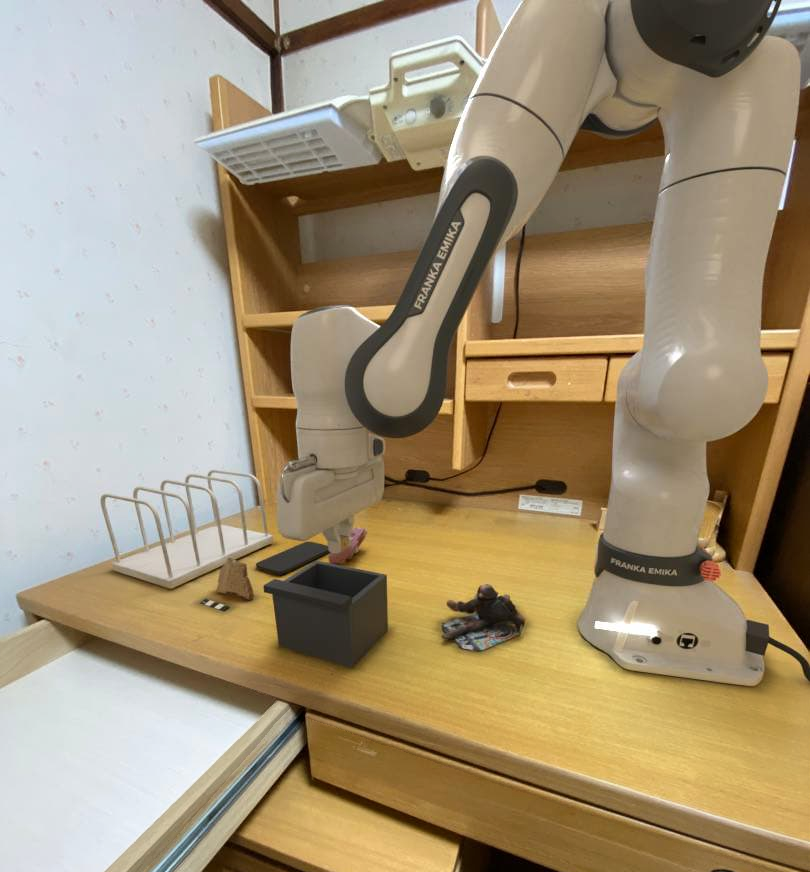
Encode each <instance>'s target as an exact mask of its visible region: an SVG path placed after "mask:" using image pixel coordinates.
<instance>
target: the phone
mask: <svg viewBox="0 0 810 872" xmlns="http://www.w3.org/2000/svg"><path fill="white" fill-rule="evenodd" d="M327 554H330V552H329V550H328V544H323V543H318V542H315V541H303V542H301V543H299V544H296V545H295V546H292V547H290V548H288V549H286V550H283V551H281V552H278V553H276V554H274V555H271V556H269V557H267V558H265V559H262V560H259V561H258V562H256V563H255V568H256V569H257V570H261V571H263V572H268V573H271V574H273V575H278V576H281V575H285V574H287V573H289V572H291V571H293V570H296V569H297V568H300V567H302V566H304V565H306V564H308V563H310V562H312V561H314V560H317V559H318V558H320V557H323V556H324V555H327Z"/></svg>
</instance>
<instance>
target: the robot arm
mask: <svg viewBox="0 0 810 872" xmlns="http://www.w3.org/2000/svg"><path fill="white" fill-rule="evenodd" d="M782 1H783V0H522V1H521V2H520V3H519V4H518V6H517V8H516V10H515V11H514V13H513V15H512V16H511V17H510V19H509V21H508V22H507V23H506V25H505V27H504V29H503V31H502V32H501V34H500V36H499V38H498V40H497V41H496V43H495V45H494V47H493V48H492V51H491V52H490V54H489V56H488V58H487V60H486V61H485V64H484V65H483V68H482V70H481V72H480V74H479V76H478V78H477V80H476V82H475V84H474V87H473V89H472V90H471V94H470V95H469V98H468V100H467V103H466V105H465V107H464V110H463V113H462V115H461V118H460V120H459V123H458V126H457V127H456V130H455V134H454V137H453V140H452V143H451V146H450V149H449V152H448V156H447V159H446V163H445V166H444V170H443V175H442V179H441V184H440V189H439V195H438V196H439V197H438V201H437V205H436V211H435V215H434V218H433V221H432V224H431V226H430V229H429V231H428V234H427V235H426V238H425V241H424V243H423V245H422V247H421V250H420V252H419V254H418V256H417V258H416V260H415V263H414V265H413V267H412V269H411V271H410V273H409V276H408V279H407V280H406V282H405V285H404V287H403V289H402V291H401V293H400V296H399V298H398V299H397V302H396V304H395V306H394V307H393V310H392V312H391V313H390V315H388V317H387V319H386V320H384V322H383V323H382V324H381V325H380V324H377V323H376V322H374V321H372V320H371V319H370V318H368V317H366V316H365V315H364V314H362V313H361V312H359V310H357V309H356V308H355V307H354V306H350V305H344V304H337V305H326V306H322V307H317V308H314V309H311V310H308V311H306V312H304V313H302V314H300V315H299V316H298V317H297V319H296V320H295V321H294V322H293V325H292V329H291V336H290V373H291V385H292V387H291V388H292V392H293V395H294V399H295V401H296V405H297V411H296V413H297V414H296V419H295V432H296V441H297V455H298V459H292V460H289V461H288V462H286V464H285V467H284V468H283V469H282V472H281V473H280V474H279V478H278V484H277V491H276V523H277V530H278V533H279V534H280V535H281V536H282V538H284V539H287V540H291V541H297V542H307V541H308V540H310V539H312V538H314V537H316V536H318V535H319V534H321V533H322V535H323V536H324V539H325V540H326V541H327V542H326V543H327V546H328V550H329V553H330V554H331V553H336V554H338V553H339V552H341V551H342V550H344V549H345V548H347V547H349V546H350V534H351V531H352V529H354V528H353V527H354V524H355V515H357V514H359V513H360V512H363V511H365V510H366V509H368V508H370V507H372V506H374V505H376V504H378V503H380V502H381V501H382V498H383V496H384V493H385V461H384V458H383V455H384V454H385V453H386V449H387V448H386V440H385V439H384V438H387V439H405V438H408V437H412V436H415V435H417V434H419V433H420V432H422V431H424V430H425V429H426V428H428V427H429V426H430V425H431V424H432V423H433V422H434V420H436V418H437V416H438V414H439V413H440V411H441V409H442V407H443V404H444V401H445V397H446V390H447V375H448V374H447V372H448V359H449V353H450V350H451V347H452V344H453V341H454V339H455V336H456V334H457V332H458V329H459V327H460V325H461V323H462V320H463V319H464V316H465V315H466V312H467V310H468V308H469V306H470V304H471V302H472V300H473V297H474V296H475V293H476V291H477V290H478V287H479V285H480V284H481V281H482V279H483V277H484V275H485V272H486V271H487V269H488V267H489V266H490V264H491V262H492V260H493V259H494V258H495V256H496V255H497V254H498V252H499V251H500V250H501V249H502V247H503V246H504V245H505V244H506V243H507V242H508V241H509V240H510V239H511V238H513V237H515V236H516V235H517V234H518V233H519V232H521V230H522V229H523V227H524V226H525V225H526V223H527V222H528V221H529V219H531V217H532V216H533V214H534V212H535V211H536V210H537V208H538V206H539V205H540V203H541V202H542V200H543V199H544V197H545V195H546V194H547V192H548V191H549V188H550V187H551V185H552V184H553V182H554V180H555V178H556V176H557V174H558V173H559V170H560V168H561V166H562V164H563V162H564V160H565V159H566V156H567V154H568V152H569V150H570V148H571V145H572V143H573V141H574V139H575V137H576V136H577V134H578V132H579V131H584V132H585V131H586V132H590V133H591V134H594V135H596V136H597V137H600V138H603V139H607V140H622V139H628V138H631V137H632V136H636V135H638V134H639V133H641V132H643V131H644V130H646V129H648V128H650V127H651V126H652V125H654V123H656V122H657V121H658V120H659V122H660V126H661V130H662V134H663V139H664V157H665V160H664V164H663V168H662V172H661V178H660V183H659V187H658V194H657V198H656V199H657V200H656V205H655V211H654V216H653V217H654V218H653V224H652V230H651V235H650V241H649V246H648V252H647V259H646V265H645V272H644V278H643V284H644V293H645V294H644V297H645V298H644V299H645V301H644V304H645V305H644V327H643V342H642V348H641V349H640V350H638V351H637V352H635V353H634V355H632V356H631V357H630V359H629V360H628V361H627V362H626V363H625V365H624V366H623V368H622V370H621V371H620V374H619V376H618V378H617V383H616V395H615V405H614V406H615V407H614V415H613V416H614V419H613V430H612V431H613V433H612V453H611V454H612V458H611V460H612V461H611V477H610V485H609V486H610V487H609V493H608V501H607V506H606V513H605V519H604V527H603V532H602V533H600V534H599V538H598V542H597V543H596V550H595V555H594V563H593V569H594V570H593V573H594V578H593V581H592V585H591V588H590V592H589V595H588V598H587V600H586V602H585V605H584V607H583V609H582V611H581V614H579V616H578V619H577V623H576V625H577V629H578V631H579V633H580V634H581V636H582V637H583V638H584V639H585V640H586V641H587V642H589V643H590V644H591V645H593V646H594V647H596V648H598V649H599V650H601V651H603V652H604V653H606V654H607V655H609V656H610V657H611V658H612V660H614V661H615V663H616V664H618V665H619V666H620V667H621V668H623V669H625V670H629V671H635V672H642V673H650V674H655V675H656V674H657V675H664V676H670V677H671V676H672V677H678V678H679V677H680V678H685V679H686V678H687V679H692V680H693V679H694V680H701V681H708V682H715V683H723V684H731V685H737V686H738V685H739V686H747V687H756V686H758V684H760V683H761V681H762V680H763V678H764V673H765V661H764V656H766V651H767V648H768V646H769V645H772V646H773V647H775V648H776V649H779V650H781V651H783V652H785V653H786V654H788V655H790V656H791V657H792V658H794V659H795V660H796V661H797V662H798V663H799V664H800V666H801V669H802V672H803V675H804V677H805V679H806V680H807V681H808V682H810V663H809V661H808V660H807V658H805V657H804V656H803V655H802V654H801V653H799V652H798V651H797V650H795V649H793V648H792V647H790V646H788V645H787V644H784V643H782V642H780V641H778V640H776V639H774V638H773V637H771V636H770V625H769V624H767V623H763V622H760V621H756V620H751V619H747V618H746V616H745V614H744V612H743V609H742V607H741V606H740V605H739V603H738V602H737V601H736V600H735V599H734V598H733V597H732V596H731V595H729V594H728V592H726V591H725V590H724V589H723V588H722V587H720V586H719V585H718V584H716V581H717V579H720V576H722V574H721V573H722V571H721V569H720V566H719V564H718V563H717V562H715V561H714V559H713V557H712V555H711V554H710V553H709V552H708V551H707V550H706V548H705V547H704V546H701V547H700V546H699V545H698V542H699V538H700V533H701V530H702V524H703V519H704V517H705V513H706V508H707V504H708V499H709V497H710V496H709V495H710V481H709V477H708V472H707V471H708V469H707V443H708V442H713V441H718V440H721V439H724V438H727V437H729V436H732V435H733V434H735V433H737V432H738V431H740V430H742V429H743V428H744V427H745V426H747V425H748V424H749V423H750V421H752V420H753V419H754V418H755V416H756V415H757V414H758V413H759V411H760V409H761V408H762V406H763V404H764V402H765V399H766V397H767V395H768V394H767V393H768V389H769V373H768V370H767V367H766V363H765V362H764V358H763V357H762V351H761V335H762V334H761V333H762V305H763V304H762V302H763V284H764V276H765V269H766V263H767V258H768V254H769V250H770V245H771V241H772V236H773V232H774V228H775V224H776V221H777V216H778V211H779V208H780V204H781V199H782V195H783V190H784V186H785V183H786V179H787V176H788V175H787V174H788V171H789V165H790V162H791V157H792V152H793V146H794V141H795V136H796V135H795V134H796V129H797V123H798V113H799V105H800V93H801V77H802V76H801V73H802V64H801V63H802V62H801V57H800V53H799V51H798V49H797V47H796V46H795V45H794V44H793V43H791V41H789V40H787V39H786V38H783V37H781V36H775V35H767V33H768V32H769V30H770V29H771V26H772V25H773V23H774V21H775V19H776V16H777V14H778V11H779V9H780V7H781V4H782ZM773 2H774V6H773V9H772V11H771V14H770V16H768V13H769V11H770V8H771V6H772V5H773ZM368 431H369V432H368ZM370 432H372V433H373V434H372V433H370ZM714 581H715V582H714Z"/></svg>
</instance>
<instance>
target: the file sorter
mask: <svg viewBox="0 0 810 872" xmlns="http://www.w3.org/2000/svg"><path fill="white" fill-rule="evenodd" d="M215 473H216V474H222V475H231V476H237V477H245V478H250V479H252V480H253V481H254V482H255V484H256V487H257V492H258V497H259V504H260V512H261V519H262V525H263V531H264V532H260V531H256V530H255V531H254V530H251V529H250V530H249V529H247V524H246V516H245V507H244V498H243V492H242V490H241V488H240V486H239V484H238V483H237V482H236V481H234V480H232V479H228V478H222V477H215V476H212V474H215ZM191 478H199V479H203V480H207V485H208V487H207V486H203V485H199V484H192V483H189V481H190V479H191ZM212 481H215V482H221V483H228V484H231V485H232V486H234V487H235V490H236V491H237V495H238V502H239V508H240V509H239V510H240V516H241V517H240V518H241V526H242V528H241V527H235V526H230V525H225V524H222V522H221V518H220V512H219V505H218V500H217V498H216V495H215V494H214V491H213V486H212ZM166 484H171V485H177V486H182V487H184V488H185V491H186V497H187V500H186V499H185V497H184V496H182V494H181V495H180V494H179V493H173V492H168V491H165V485H166ZM190 488H192V489H196V490H201V491H205V492H206V493H207V494H208V495H209V496H210V502H211V507H212V512H213V517H214V523H215V525H212V526H209V527H206V528H204V529H201V530H199V531H198V527H197V521H196V515H195V512H194V507H193V501H192V496H191V491H190ZM139 491H144V492H148V493H153V494H158V495H161V500H162V504H163V510H164V514H165V519H166V523H167V528H168V533H169V537H170V541H169V542H166V541H165V537H164V532H163V528H162V524H161V519H160V516H159V513H158V511H157V509H156V508H155V506H154V505H153V504H152V503H150V502H149V501H147V500H143V499H138V492H139ZM167 497H172V498H176V499H177V500H179V501H181V503H182V504H183V505H184V508H185V510H186V511H185V512H186V515H187V521H188V526H189V527H188V528H189V531H190V534H187V535H185V536H182V537H180V538H176V539H175V536H174V531H173V527H172V523H171V522H172V521H171V517H170V513H169V507H168V502H167ZM106 498H110V499H115V500H120V501H125V502H130V503H134V506H135V510H136V511H135V512H136V515H137V519H138V523H139V529H140V533H141V537H142V543H143V545H144V551H141V552H138V553H135V554H133V555H130V556H127V557H124V558H121V556H120V552H119V549H118V545H117V542H116V538H115V534H114V531H113V527H112V524H111V520H110V517H109V513H108V509H107V505H106ZM140 505H143V506H146V507H148V509H149V510H150V511H151V513H152V515H153V518H154V521H155V525H156V529H157V534H158V538H159V541H160V542H159V543H160V545H158V546H154V547H152V548H149V547H150V546H149V543H148V538H147V534H146V530H145V526H144V522H143V517H142V513H141V508H140ZM100 508H101V510H102V514H103V517H104V520H105V525H106V528H107V532H108V535H109V539H110V542H111V545H112V548H113V553H114V556H115V559H116V561H113V562H112V564H111V565H112V568H113V571H114V572H116V573H120V574H123V575H125V576H130V577H133V578H136V579H140V580H143V581H145V582H149V583H152V584H154V585H157V586H161V587H164V588H167V589H170V590H171V589H175V588H176V587H178V586H181V585H184V584H185V583H187V582H189V581H191V580H194V579H195V578H197V577H200V576H202V575H204V574H207V573H209V572H211V571H213V570H216V569H218V568H220V567H223V566H224V565H225V564H226V561H227V558H232V559H234V560H237V559H239V558H241V557H244V556H246V555H248V554H250V553H252V552H255V551H258V550H259V549H261V548H263V547H266V546H268V545H270V544H273V543H274V536H273V535H272V534H269V532H268V525H267V519H266V518H267V517H266V510H265V505H264V498H263V491H262V486H261V483H260V480H258V478H257V477H256V476H255V475H253V474H251V473H245V472H237V471H229V470H222V469H211V470H209V471H208V473H207V475H203V474H198V473H189V474H187V475H186V476H185V479H184V482H183V481H177V480H173V479H172V480H171V479H164V480H163V481H161V483H160V488H159V489H155V488H150V487H145V486H139V485H138V486H136V487H135V488H134V489H133V492H132V497H129V496H123V495H119V494H113V493H104V494H102V495H101V497H100Z"/></svg>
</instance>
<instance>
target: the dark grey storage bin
mask: <svg viewBox="0 0 810 872" xmlns="http://www.w3.org/2000/svg"><path fill="white" fill-rule="evenodd" d="M262 586H263V592H264V593H265V594H270V595H272V604H273V611H274V619H275V627H276V637H277V643H278V647H282V648H285V649H288V650H291V651H295V652H298V653H301V654H304V655H307V656H311V657H314V658H318V659H320V660H324V661H327V662H331V663H334V664H336V665H337V664H338V665H340V666H343V667H347V668H351V669H353V668H354V667H355V666H356V665H357V664H358V663H359V662H360V661H361V659H363V657H365V655H366V654H367V653H368V652H369V651H370V650H371V649H372V648H373V647H374V646H375V645H376V644H377V642H379V640H380V639H381V638H382V637H384V635H385V634H386V633H387V632H388V631H389V616H388V615H389V614H388V609H389V608H388V575H387V574H385V573H380V572H375V571H370V570H365V569H360V568H356V567H351V566H346V565H340V564H337V563H336V564H332V563H330V562H326V561H320V560H315V561H313V562H312V563H310V564H308V565H306V566H305V567H303V568H301V569H300V570H298V571H297V572H295V573H294V574H292V575H290V576H288V577H287V578H286V579H283V580H281V579H277V578H273V579H272V580H269V581H267V583H265V584H263V585H262Z"/></svg>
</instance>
